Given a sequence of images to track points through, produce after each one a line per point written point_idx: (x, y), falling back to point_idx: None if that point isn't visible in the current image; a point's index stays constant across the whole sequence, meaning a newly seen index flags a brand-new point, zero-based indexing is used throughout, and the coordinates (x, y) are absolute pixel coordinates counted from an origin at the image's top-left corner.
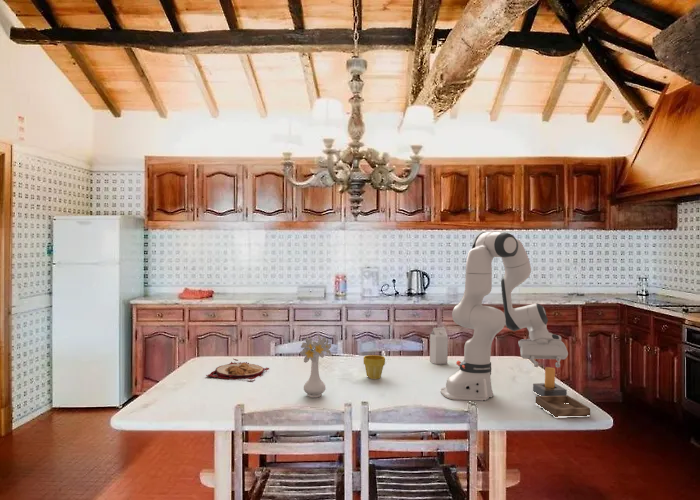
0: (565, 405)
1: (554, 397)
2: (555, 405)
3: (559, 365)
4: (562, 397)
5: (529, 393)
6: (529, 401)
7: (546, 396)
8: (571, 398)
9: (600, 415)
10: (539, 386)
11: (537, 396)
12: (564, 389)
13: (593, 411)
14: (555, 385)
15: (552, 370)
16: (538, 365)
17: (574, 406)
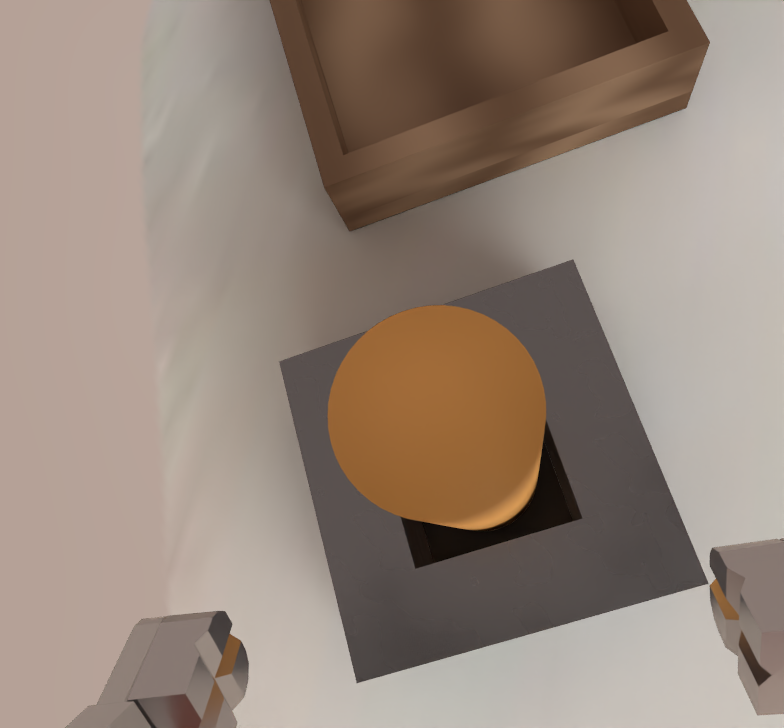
0: (396, 91)
1: (483, 108)
2: (493, 63)
3: (161, 619)
4: (393, 143)
5: (727, 526)
6: (745, 200)
7: (576, 77)
8: (314, 96)
9: (173, 23)
10: (621, 433)
11: (686, 43)
12: (303, 365)
13: (190, 96)
14: (374, 539)
15: (405, 318)
16: (713, 553)
17: (323, 73)
